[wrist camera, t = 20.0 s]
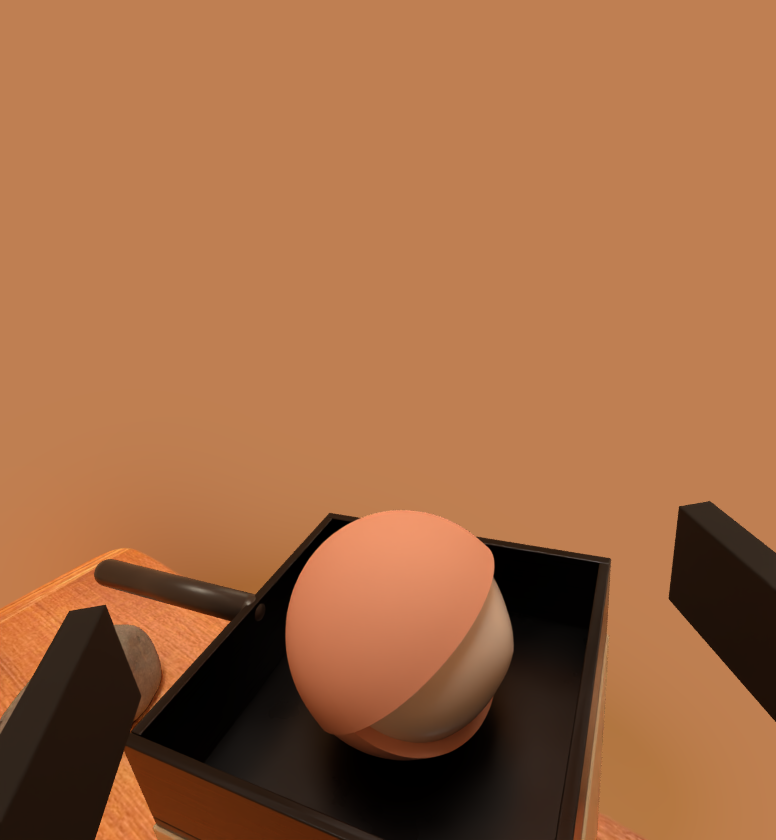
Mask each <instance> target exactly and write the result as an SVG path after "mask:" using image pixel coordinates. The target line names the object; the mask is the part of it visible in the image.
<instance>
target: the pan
mask: <svg viewBox="0 0 776 840" xmlns="http://www.w3.org/2000/svg"><path fill="white" fill-rule="evenodd" d="M358 519H360V518H358V517H352V516H345V515H339V514H333V513H329V514H328V515H327V516H326V518H324V520H323V521H322V522H321V523H320V524H319V525H318V526H317V527H316V528H315V529H314V531H313V532H312V533H311V534H310V535H309V536H308V537H307V538H306V539H305V541H304V542H303V543H302V544H301V545H300V546H299V547H298V548H297V549H296V550H295V551H294V553H293V554H292V555H291V556H290V557H289V558H288V559H287V560H286V561H285V563H284V564H283V565H282V566H281V567H280V568H279V569H278V570H277V571H276V572H275V574H274V575H273V576H272V577H271V578H270V579H269V580H268V581H267V582H266V583H265V584H264V586H263V587H262V588H261V589H260V590H259V591H258V592H257V593H256V594H251V593H247V592H243V591H239V590H235V589H231V588H227V587H223V586H219V585H215V584H211V583H207V582H203V581H198V580H195V579H191V578H187V577H183V576H179V575H174V574H170V573H166V572H162V571H158V570H154V569H150V568H146V567H142V566H138V565H134V564H130V563H126V562H122V561H118V560H114V559H108V560H104V561H102V562H101V563H99V564H98V566H97V567H96V569H95V572H94V577H95V580H96V581H97V582H98V583H99V584H100V585H102V586H106V587H109V588H113V589H116V590H120V591H124V592H127V593H131V594H134V595H138V596H142V597H145V598H149V599H152V600H156V601H160V602H163V603H167V604H170V605H174V606H178V607H181V608H185V609H188V610H192V611H196V612H199V613H203V614H206V615H210V616H214V617H217V618H221V619H224V620H228V621H231V622H230V623H229V624H228V625H227V626H226V627H225V628H224V630H223V631H222V632H221V633H220V634H219V635H218V636H217V637H216V638H215V639H214V641H213V642H212V643H211V644H210V645H209V646H208V647H207V648H206V649H205V650H204V652H203V653H202V654H201V655H200V656H199V657H198V658H197V659H196V660H195V662H194V663H193V664H192V665H191V666H190V667H189V668H188V669H187V670H186V671H185V673H184V674H183V675H182V676H181V677H180V678H179V679H178V680H177V681H176V682H175V684H174V685H173V686H172V687H171V688H170V689H169V690H168V691H167V692H166V693H165V695H164V696H163V697H162V698H161V699H160V700H159V701H158V702H157V703H156V704H155V706H154V707H153V708H152V709H151V710H150V711H149V712H148V713H147V714H146V715H145V717H144V718H143V719H142V720H141V721H140V722H139V723H138V724H137V725H136V726H135V728H134V729H133V730H132V731H131V732H132V733H129V736H128V739H127V742H126V745H125V749H124V752H125V754H126V756H127V758H128V761H129V763H130V765H131V768H132V770H133V772H134V774H135V777H136V779H137V781H138V784H139V786H140V788H141V790H142V793H143V795H144V797H145V800H146V802H147V804H148V806H149V809H150V811H151V813H152V816H153V817H154V820H155V822H156V824H157V826H159V827H161V828H163V829H165V830H167V831H169V832H171V833H173V834H175V835H177V836H179V837H181V838H183V839H185V840H582V832H583V824H584V816H585V808H586V800H587V791H588V783H589V775H590V767H591V758H592V750H593V742H594V734H595V726H596V717H597V709H598V701H599V693H600V685H601V676H602V668H603V660H604V652H605V644H606V635H607V618H608V601H609V582H610V567H611V559H610V558H605V557H599V556H592V555H586V554H580V553H574V552H568V551H562V550H556V549H549V548H543V547H537V546H530V545H524V544H519V543H512V542H506V541H500V540H494V539H487V538H481V537H476V538H478V539H479V540H480V541H481V542H482V543H483V544H485V545H486V546H487V547H488V548H489V549H490V551H491V552H492V554H493V558H494V574H493V577H494V579H495V581H496V583H497V585H498V587H499V589H500V591H501V594H502V596H503V599H504V601H505V604H506V607H507V610H508V614H509V617H510V621H511V625H512V630H513V638H514V650H513V656H512V660H511V663H510V666H509V669H508V671H507V674H506V676H505V678H504V679H503V681H502V683H501V685H500V686H499V688H498V690H497V691H496V693H495V694H494V696H493V699H492V703H491V706H490V709H489V711H488V713H487V716H486V718H485V719H484V721H483V723H482V725H481V726H480V727H479V729H478V730H477V731H476V733H475V734H474V735H473V736H472V737H471V738H470V739H469V740H468V741H467V742H465V743H464V744H463V745H461V746H460V747H458V748H457V749H455V750H453V751H451V752H449V753H446V754H443V755H440V756H436V757H431V758H426V759H420V760H391V759H384V758H380V757H376V756H373V755H369V754H367V753H364V752H362V751H359V750H357V749H355V748H353V747H351V746H350V745H348V744H346V743H345V742H343V741H342V740H340V739H339V738H338V737H336V736H335V735H333V734H330V733H327V732H326V731H324V730H323V729H322V727H321V726H320V725H319V724H318V722H317V721H316V720H315V719H314V717H313V716H312V714H311V713H310V712H309V710H308V709H307V707H306V706H305V704H304V702H303V700H302V699H301V697H300V695H299V693H298V691H297V688H296V686H295V683H294V681H293V678H292V675H291V671H290V667H289V663H288V658H287V651H286V619H287V612H288V607H289V602H290V599H291V595H292V592H293V589H294V587H295V584H296V582H297V580H298V577H299V575H300V573H301V572H302V570H303V568H304V566H305V565H306V563H307V562H308V560H309V559H310V557H311V556H312V555H313V553H314V552H315V551H316V550H317V549H318V548H319V546H320V545H321V544H322V543H323V542H324V541H325V540H327V539H328V538H329V537H330V536H331V535H333V534H334V533H335V532H337V531H338V530H339V529H341V528H343V527H344V526H346V525H348V524H349V523H351V522H353V521H355V520H358Z"/></svg>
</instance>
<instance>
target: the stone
mask: <svg viewBox="0 0 776 840" xmlns="http://www.w3.org/2000/svg"><path fill="white" fill-rule="evenodd" d="M114 627H115V630H116V632H117V635H118V637H119V640H120V642H121V645H122V648H123V650H124V653H125V655H126V658H127V660H128V663H129V665H130V668H131V670H132V673H133V676H134V678H135V681H136V683H137V686H138V688H139V691H140V693H141V696H142V697H141V700H140V703H139V706H138V709H137V712H136V715H135V718H134V721H135V720H136V719H137V718H139V717H140V716H141V715H142V713H143V712H144V711H145V710H146V709H147V707H148V706H149V704H150V702H151V700H152V698H153V696H154V695H155V693H156V691H157V690H158V688H159V685H160V681H161V664H160V660H159V657H158V654H157V652H156V649H155V647H154V644H153V643H152V641H151V639H150V638H149V636H148V635H147V634H146V633H145V632H144V631H143V630H142V629H140V628H139V627H136V626H133V625H114ZM29 682H30V681H29ZM29 682H28V683H27V685H28V684H29ZM27 685H26V686H25V687H24V688H23V689H22V691H21V692H20V693H19V694H18V696H17V697H16V698H15V699H14V701H13V702H12V703H11V705H10V706H9V707H8V709H7V710H6V711H5V713H4V714H3V716H2V717H1V719H0V733H1V732H2V730H3V728H4V726H5V725H6V723H7V721H8V719H9V717H10V716H11V714H12V712H13V710H14V709H15V707H16V705H17V703H18V701H19V700H20V698H21V696H22V694H23V693H24V691H25V689H26V687H27ZM134 721H133V722H134Z"/></svg>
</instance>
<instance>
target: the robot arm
mask: <svg viewBox="0 0 776 840" xmlns="http://www.w3.org/2000/svg"><path fill="white" fill-rule="evenodd" d="M669 600H670V601H671V602H672V603H673V605H674V606H675V607H676V608H677V609H678V610H679V611H680V613H681V614H682V615H683V616H684V617H685V618H686V619H687V621H688V622H689V623H690V624H691V625H692V626H693V627H694V629H695V630H696V631H697V632H698V633H699V634H700V636H702V638H703V639H704V640H705V641H706V642H707V644H709V646H710V647H711V648H712V649H713V650H714V651H715V653H716V654H717V655H718V656H719V657H720V658H721V660H722V661H723V662H724V663H725V664H726V665H727V666H728V668H729V669H730V670H731V671H732V672H733V673H734V675H735V676H736V677H737V678H738V679H739V680H740V681H741V683H742V684H743V685H744V686H745V687H746V688H747V689H748V691H749V692H750V693H751V694H752V695H753V696H754V697H755V699H756V700H757V701H758V702H759V703H760V704H761V706H762V707H763V708H764V709H765V710H766V711H767V712H768V714H769V715H770V716H771V717H772V718H773V719H774V720H775V722H776V553H775V552H774V551H773V550H771V549H770V548H768V547H767V546H766V545H765V544H764V543H762V542H761V541H760V540H759V539H757V538H756V537H755V536H753V535H752V534H751V533H750V532H748V531H747V530H746V529H745V528H743V527H742V526H741V525H739V524H738V523H737V522H736V521H734V520H733V519H732V518H731V517H729V516H728V515H727V514H726V513H724V512H723V511H722V510H720V509H719V508H718V507H717V506H715V505H714V504H713V503H711V502H710V501H708V502H703V503H697V504H691V505H685V506H679V512H678V521H677V530H676V539H675V547H674V556H673V566H672V574H671V582H670V592H669ZM141 697H142V696H141V693H140V691H139V688H138V686H137V683H136V681H135V678H134V676H133V673H132V670H131V668H130V665H129V663H128V660H127V658H126V655H125V653H124V650H123V648H122V645H121V642H120V640H119V637H118V635H117V632H116V630H115V627H114V625H113V622H112V620H111V617H110V615H109V612H108V609H107V607H106V605H102V606H96V607H90V608H84V609H79V610H73V611H69V613H68V614H67V616H66V618H65V620H64V621H63V623H62V625H61V627H60V629H59V630H58V632H57V634H56V636H55V637H54V639H53V641H52V643H51V645H50V646H49V648H48V650H47V652H46V653H45V655H44V657H43V659H42V661H41V662H40V664H39V666H38V668H37V669H36V671H35V673H34V675H33V677H32V678H31V680H30V682H29V684H28V685H27V687H26V689H25V691H24V693H23V694H22V696H21V698H20V700H19V701H18V703H17V705H16V707H15V709H14V710H13V712H12V714H11V716H10V717H9V719H8V721H7V723H6V725H5V726H4V728H3V730H2V732H1V733H0V840H95V837H96V834H97V831H98V828H99V825H100V822H101V819H102V816H103V813H104V810H105V807H106V804H107V801H108V797H109V794H110V791H111V788H112V785H113V782H114V779H115V776H116V773H117V770H118V767H119V764H120V761H121V758H122V755H123V752H124V749H125V745H126V742H127V739H128V736H129V733H130V730H131V727H132V724H133V721H134V718H135V715H136V712H137V709H138V706H139V703H140V700H141Z"/></svg>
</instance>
